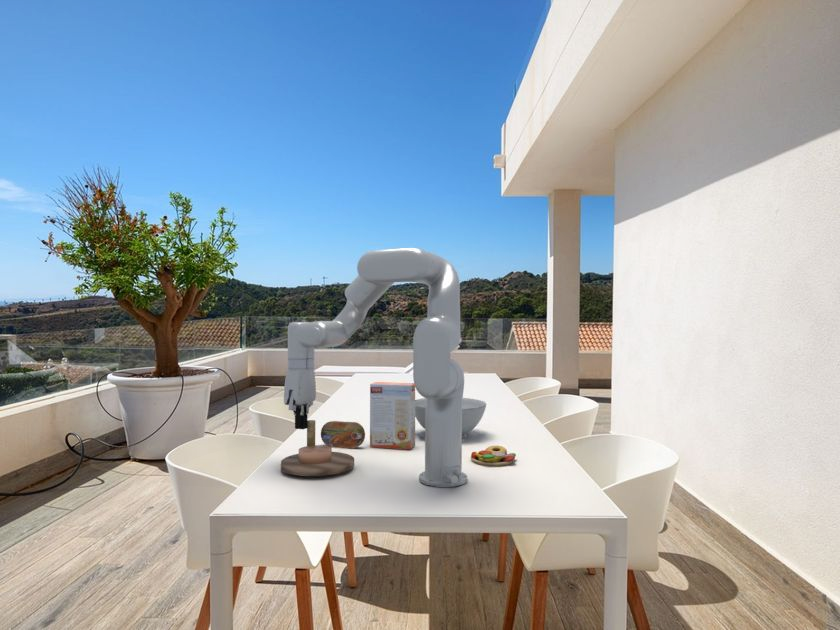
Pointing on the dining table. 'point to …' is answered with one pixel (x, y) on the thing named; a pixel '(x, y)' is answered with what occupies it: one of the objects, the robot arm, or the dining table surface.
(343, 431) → the tin
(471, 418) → the decorative bowl
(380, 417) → the cracker box
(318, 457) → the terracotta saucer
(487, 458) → the toy food set
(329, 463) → the turntable
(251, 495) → the dining table surface
